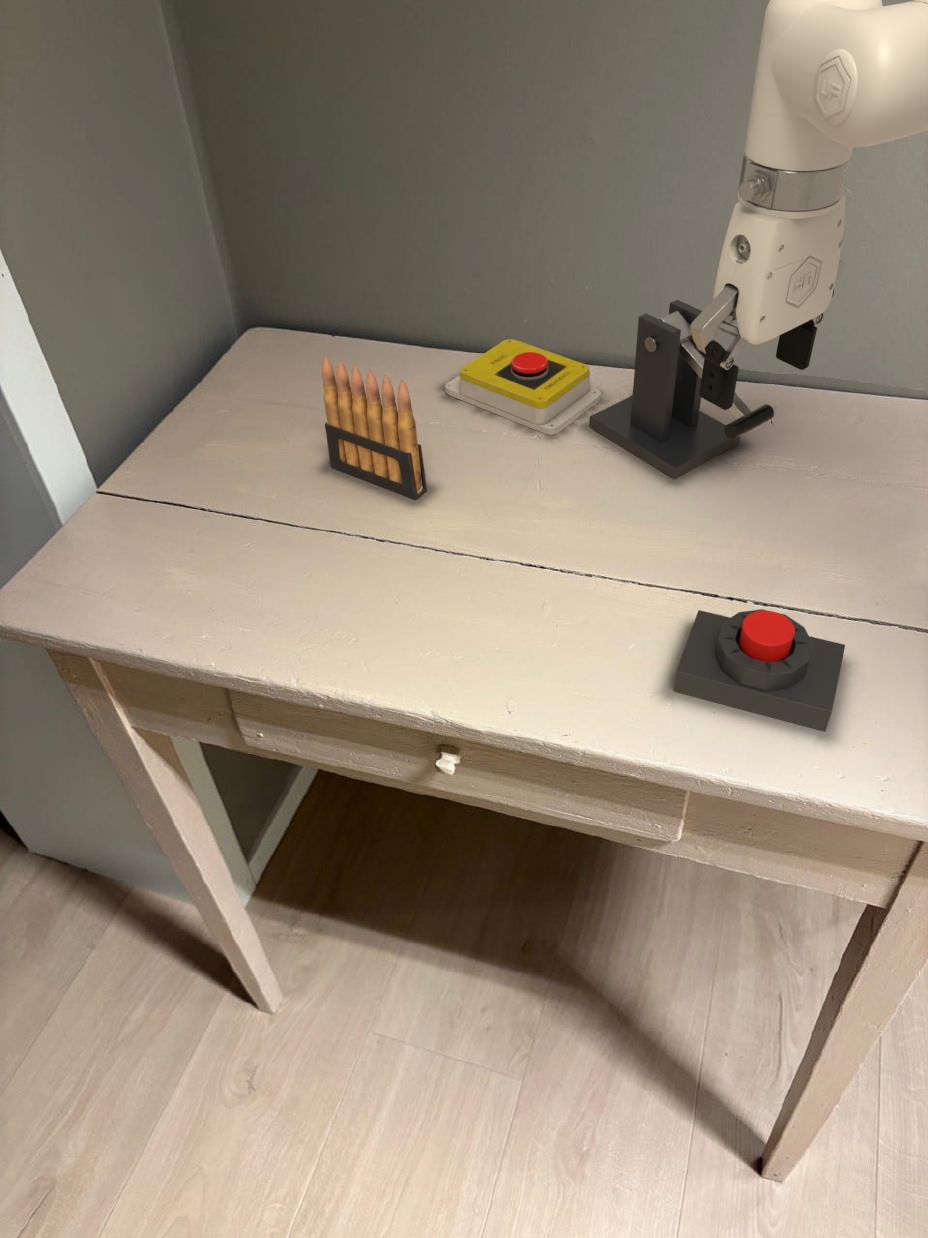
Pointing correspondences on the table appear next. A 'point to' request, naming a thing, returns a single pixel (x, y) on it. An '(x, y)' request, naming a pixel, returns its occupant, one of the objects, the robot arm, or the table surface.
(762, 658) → the red button
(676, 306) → the lever stand
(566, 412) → the emergency button
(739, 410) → the tap lever
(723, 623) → the button block
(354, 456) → the ammunition clip
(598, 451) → the table surface
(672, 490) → the table surface
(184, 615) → the table surface
